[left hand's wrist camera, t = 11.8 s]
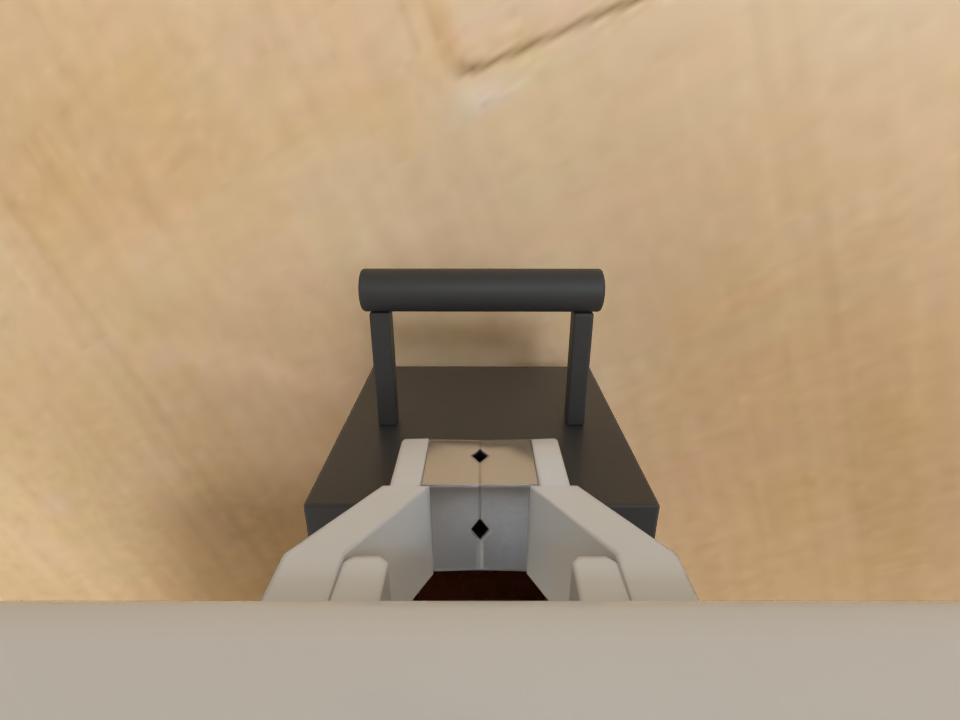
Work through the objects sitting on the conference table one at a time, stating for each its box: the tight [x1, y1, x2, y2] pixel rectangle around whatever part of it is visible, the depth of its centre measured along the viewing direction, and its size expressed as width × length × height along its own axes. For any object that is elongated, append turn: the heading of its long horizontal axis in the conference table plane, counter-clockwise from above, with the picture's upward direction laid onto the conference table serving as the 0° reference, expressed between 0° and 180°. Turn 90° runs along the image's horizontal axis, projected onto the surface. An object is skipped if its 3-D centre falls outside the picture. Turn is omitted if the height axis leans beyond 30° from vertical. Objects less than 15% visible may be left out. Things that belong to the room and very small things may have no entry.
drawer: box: [304, 269, 660, 601], centre depth 19 cm, size 20×9×9 cm, turn 0°
